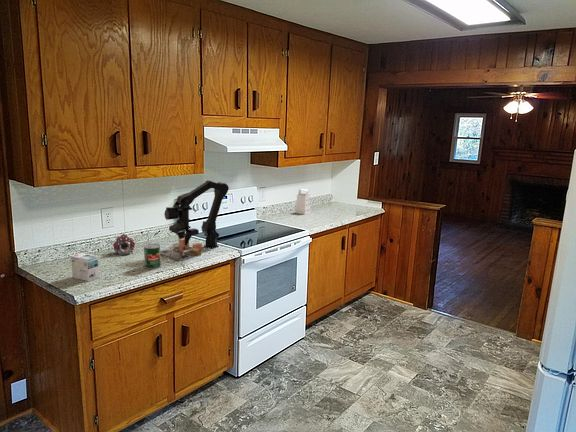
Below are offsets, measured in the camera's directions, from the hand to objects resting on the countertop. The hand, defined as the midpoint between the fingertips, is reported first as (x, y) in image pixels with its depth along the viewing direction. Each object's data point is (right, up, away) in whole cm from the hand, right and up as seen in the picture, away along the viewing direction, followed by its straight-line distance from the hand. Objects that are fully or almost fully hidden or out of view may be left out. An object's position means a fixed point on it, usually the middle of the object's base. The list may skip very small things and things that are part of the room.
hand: (184, 244), depth 251 cm
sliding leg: (-2, -4, -3) cm, 5 cm away
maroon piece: (-32, -5, -7) cm, 33 cm away
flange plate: (-4, -6, -9) cm, 11 cm away
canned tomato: (-10, -10, -27) cm, 31 cm away
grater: (+72, +19, +124) cm, 145 cm away
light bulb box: (-35, -13, -46) cm, 59 cm away
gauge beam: (0, -5, -4) cm, 6 cm away
